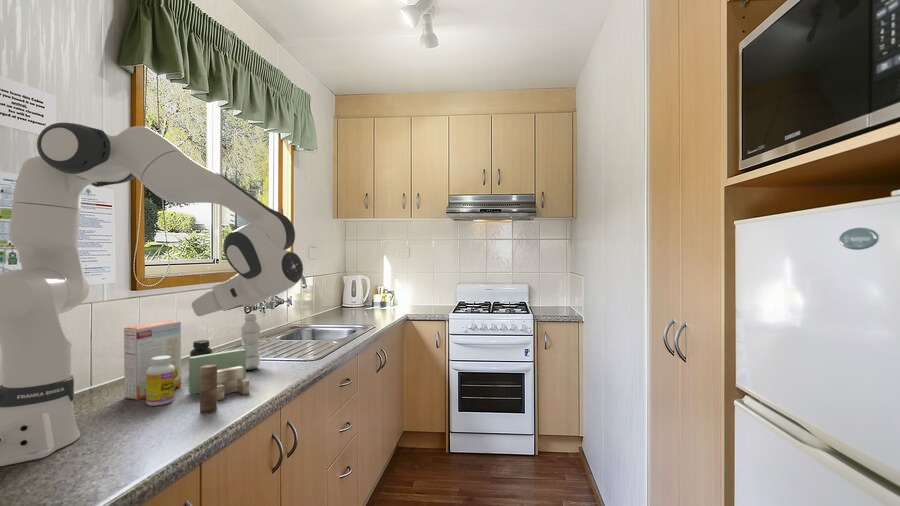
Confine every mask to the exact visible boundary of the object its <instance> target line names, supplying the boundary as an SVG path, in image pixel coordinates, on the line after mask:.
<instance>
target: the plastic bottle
mask: <svg viewBox="0 0 900 506" xmlns="http://www.w3.org/2000/svg"><path fill="white" fill-rule="evenodd" d="M260 334H261V327H260V325H259V323H258V322H257V314H253V313H252V314H245V315H244V323H243V324H242V326H241V329H240V336H241V347H242V348H241V349H245V350H246V371H252V370H256V369H258V368H259V367H260V363H261V360H260V358H261V357H260V353H259V352H260V351H259V342H260V341H259V340H260Z"/></svg>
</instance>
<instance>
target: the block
mask: <svg viewBox="0 0 900 506" xmlns="http://www.w3.org/2000/svg"><path fill="white" fill-rule="evenodd" d="M243 377H244V367H242V366H237V367H231V368H226V369H220V370H217V401H222V400H225V395H227V394H230V393H235V392H238V393H240V394H241V395H247V394H250V379H247V378H246V379H245V378H243Z"/></svg>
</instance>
